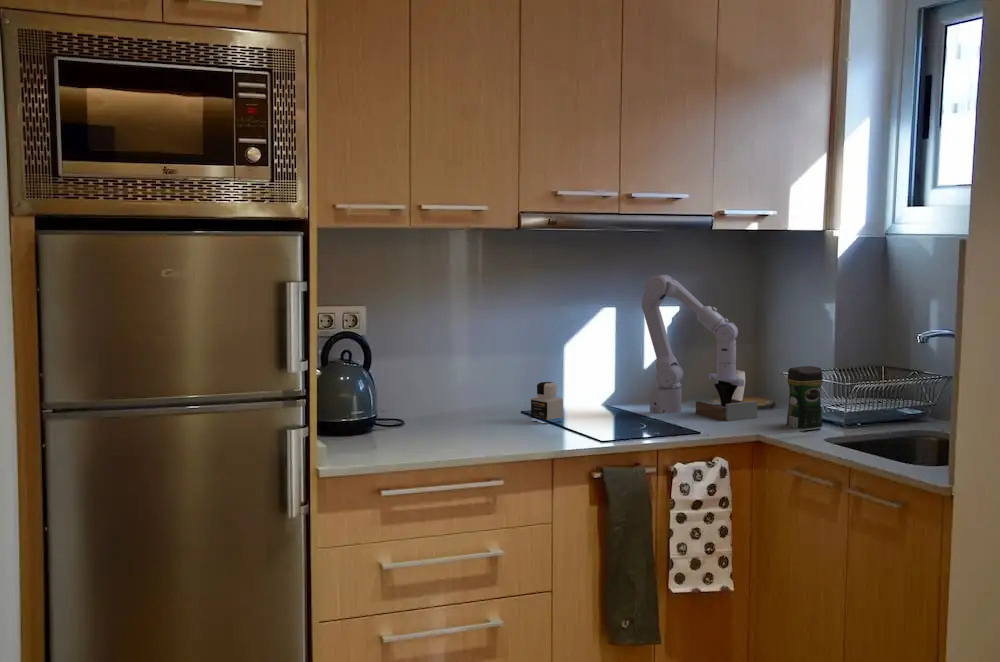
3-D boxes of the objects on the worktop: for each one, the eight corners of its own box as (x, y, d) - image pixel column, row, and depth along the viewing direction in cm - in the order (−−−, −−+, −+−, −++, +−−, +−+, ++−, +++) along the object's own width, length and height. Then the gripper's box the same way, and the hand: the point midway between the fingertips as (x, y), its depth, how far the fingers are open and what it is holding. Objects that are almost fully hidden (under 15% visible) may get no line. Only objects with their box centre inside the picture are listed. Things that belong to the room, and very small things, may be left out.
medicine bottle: (530, 421, 301) (530, 382, 300) (547, 418, 306) (546, 380, 304) (547, 424, 296) (546, 385, 294) (563, 421, 300) (563, 382, 299)
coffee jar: (809, 425, 290) (811, 363, 288) (826, 431, 283) (828, 367, 281) (781, 428, 287) (782, 365, 285) (797, 433, 280) (799, 369, 278)
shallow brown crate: (722, 424, 293) (722, 408, 292) (695, 417, 304) (695, 401, 304) (756, 420, 298) (756, 404, 298) (729, 413, 310) (729, 398, 309)
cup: (728, 404, 326) (728, 368, 324) (750, 408, 319) (751, 371, 318) (710, 407, 320) (711, 371, 319) (733, 411, 313) (734, 374, 312)
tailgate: (727, 422, 292) (727, 404, 291) (725, 421, 293) (725, 404, 292) (757, 418, 297) (757, 401, 296) (755, 418, 298) (755, 400, 297)
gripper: (752, 364, 295) (751, 409, 296) (721, 358, 308) (721, 401, 309) (733, 366, 292) (732, 411, 293) (703, 360, 305) (703, 403, 306)
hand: (725, 406), depth 301 cm, fingers closed
